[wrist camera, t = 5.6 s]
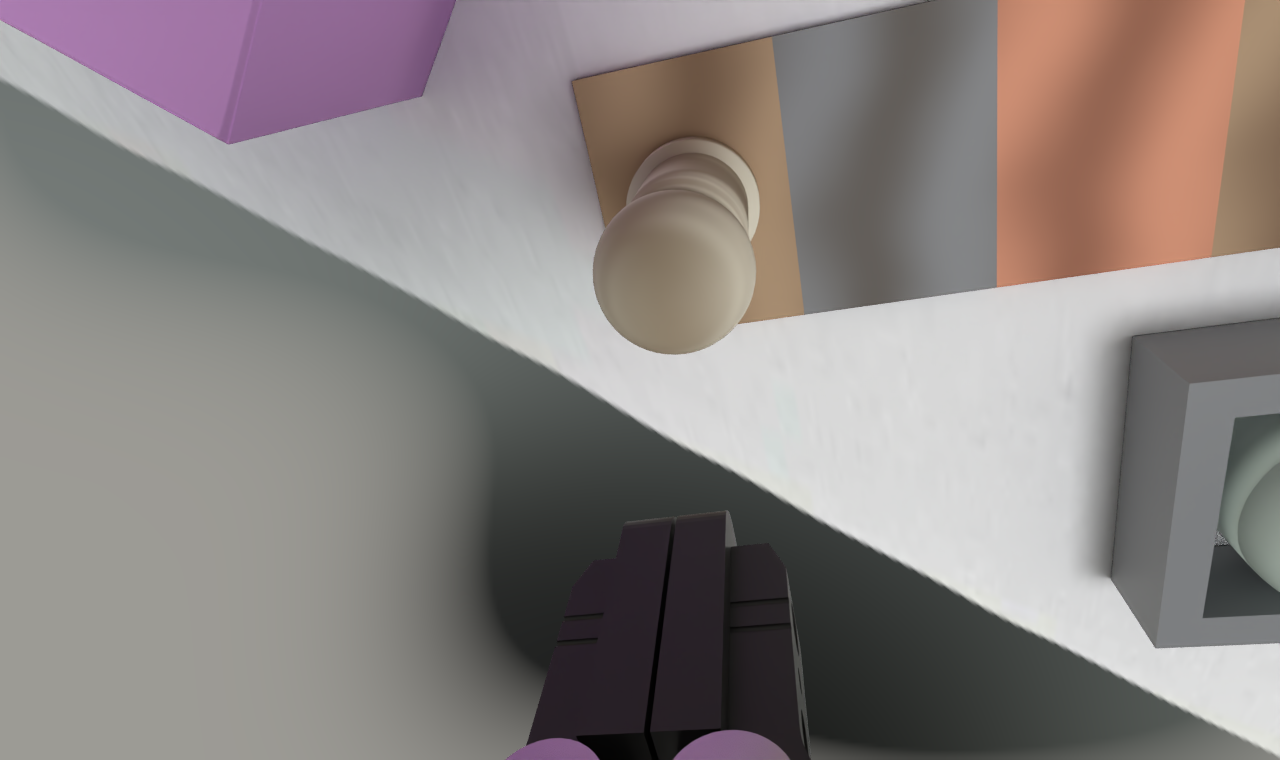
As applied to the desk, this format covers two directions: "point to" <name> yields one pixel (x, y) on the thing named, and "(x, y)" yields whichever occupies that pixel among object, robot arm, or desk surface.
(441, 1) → the teapot
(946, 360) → the desk surface
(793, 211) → the track board
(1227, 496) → the dome
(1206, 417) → the dome housing
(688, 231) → the pawn
